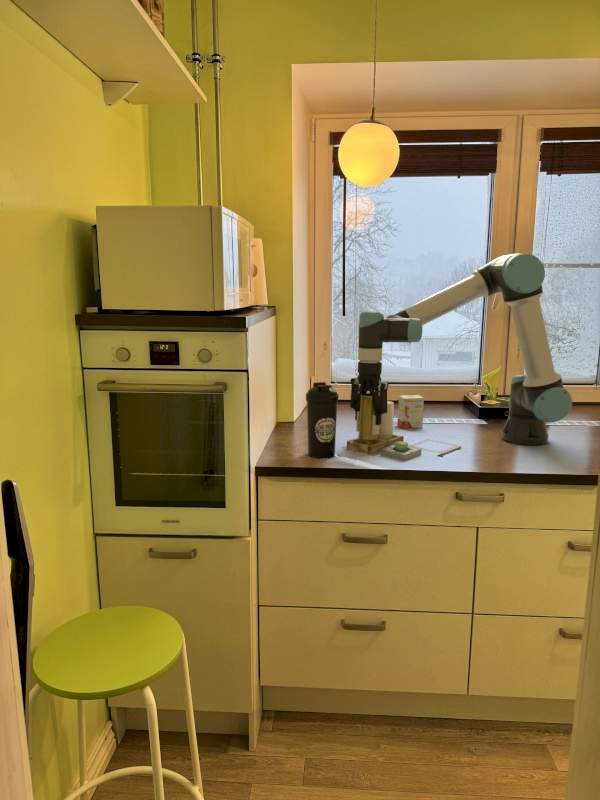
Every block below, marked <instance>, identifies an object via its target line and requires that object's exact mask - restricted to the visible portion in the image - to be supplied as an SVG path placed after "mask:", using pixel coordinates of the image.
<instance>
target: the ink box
mask: <svg viewBox="0 0 600 800" xmlns="http://www.w3.org/2000/svg"><path fill="white" fill-rule="evenodd" d="M424 400H425V398H424V397H423V396H421V395H420V394H415V395H414V394H413V395H412V394H410V395H409V394H407V395H405V394H404V395H399V396H398V407H397V408H398V409H397V426H398V427H399V428H400V429H422V428H423V424H424V403H425V402H424Z"/></svg>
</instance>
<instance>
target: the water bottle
mask: <svg viewBox="0 0 600 800" xmlns="http://www.w3.org/2000/svg"><path fill="white" fill-rule="evenodd" d="M305 401H306V414H307V419H306V420H307V421H306V422H307V455H308V457H310V458H313V459H318V460H319V459H321V460H323V459H324V460H325V459H331V458H334V457H335V456H336V454H335V452H336V438H337V437H336V436H337V434H336V433H337V414H338V413H337V412H338V403H339V393H338V391H336V389H334V388H333V385H332V384H327V383H326V381H325V382H321V381H319V382H318V381H317V382H313V383H312V387H311V388H310V389H308V391H307V392H306V394H305Z"/></svg>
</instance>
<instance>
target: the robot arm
mask: <svg viewBox="0 0 600 800" xmlns="http://www.w3.org/2000/svg"><path fill="white" fill-rule="evenodd" d="M545 270H546V269H545V266H544V263H543V261H541V259H540V258H539V257H537V256H536V255H534V254H531V253H527V252H519V253H511V254H505V255H504V254H503V255H501V256H499V257H496V258H495V259H493V260H491V261H490V262H488V263H486V264H485V265H482V266H481V267H479V268H477V269H475V270H474V271H472V273H471V276H468V277H467V278H464V279H463V280H460V281H459V282H456V283H455V284H453V285H450V286H449V287H446V288H444V289H442V290H441V291H438V292H436V293H434V294H432V295H430V296H428V297H426V298H424V299H422V300H420V301H419V302H416V303H415V304H412V305H411V306H409V307H406V308H405V309H403V310H401V311H398V312H397V313H395V314H389V315H387V316H384V312H382V311H375V310H374V311H372V310H371V311H369V310H367V311H362V312H361V313H360V314H359V320H358V346H357V348H358V349H357V359H358V362H357V373H358V376H357V377H353V378H350V384H351V387H350V388H351V390H350V402H349V403H350V405H349V407H350V409H353V410H354V412H355V413H354V414H355V415H354V416H355V417H354V419H355V421H356V432H357V433H359V418H360V398H361V394H362V395H364V396H365V395H366V393H370V394H371V396H372V402H373V407H374V412H375V414H374V415H373V421H372V435H377V434H379V425H381V416H382V414H384V413H387V401H388V388H389V385H390V382H386V381H383V380H382V377H381V374H382V373H383V371H382V370H383V369H382V368H383V363H382V360H383V346H384V345H383V343H409V344H411V343H419V342H420V341H421V339H422V336H423V326H425V325H426V324H430V322H432V321H435V320H437V319H438V318H441V317H442V316H445V315H447V314H448V313H450V312H453V311H455V310H457V309H459V308H461V307H463V306H465V305H467V304H469V303H471V302H473V301H475V300H477V299H479V298H481V297H483V298H488V297H490V296H492V295H494V294H498V293H501V294H502V299H503V303H504V304H506V305H508V306H509V307H510V311H511V315H512V319H513V324H514V329H515V333H516V338H517V341H518V347H519V350H520V355H521V359H522V363H523V368H524V372H525V374H517V375H514V376H512V378H511V382H510V395H509V410H508V418H507V420H506V422H505V425H504V426H503V429H502V432H501V438H502V439H503V440H504V441H506V442H507V443H508V442H509V443H511V444H517V445H521V446H522V445H525V446H542V445H545V444H547V443H549V432H548V429H547V425H546V424H547V423H557V422H560V421H562V420H563V419H564V418H566V417H567V416H568V414H569V413H570V411H571V410H572V407H573V398H572V395H571V394H570V392H569V391H568V390H567V389H565V388H564V383H563V379H562V376H561V374H559V373H557V371H555V367H554V363H553V358H552V357H553V356H552V353H551V348H550V343H549V339H548V334H547V330H546V329H547V328H546V325H545V320H544V315H543V310H542V307H541V302H540V298H541V297H542V295H543V294H544V290H543V283H544V281H545V278H546V271H545Z"/></svg>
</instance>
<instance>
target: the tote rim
mask: <svg viewBox="0 0 600 800" xmlns="http://www.w3.org/2000/svg"><path fill="white" fill-rule="evenodd" d="M428 441H432V442H436V443H440V444H444V445H449V446H452V447H448V448H445V449H444V450H441V451H437V450H432V449H428V448H424V447H419V446H416V445H419V444H422V443H425V442H428ZM408 446H411V447H415V448H419V449H421V450H424V451H428V452H433V453H437V454H438V455H436V457H439V458H444V456H445V455H449V454H451V453H454V452H456V451H461V450H462V446H461V445H457V444H453V443H448V442H444V441H439V440H434V439H430V438H426V439H424V440H421V441H419V442H415V443H413V444H408Z"/></svg>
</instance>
